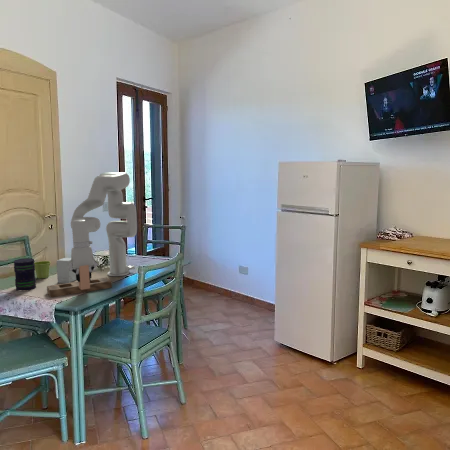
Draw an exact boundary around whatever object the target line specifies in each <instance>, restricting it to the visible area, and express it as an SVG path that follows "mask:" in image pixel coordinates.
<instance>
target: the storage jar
mask: <svg viewBox="0 0 450 450" xmlns="http://www.w3.org/2000/svg"><path fill="white" fill-rule="evenodd" d="M34 263H35V259H34V258H30V257H28V258H27V257H26V258H19V259H15V260H14V261H13V270H14V271H13V272H14V274H15V275H14V277H15V278H14V281H15V283H14V284H15V290H16V291H17V290H28V291H32V290H35V289H36V288H37V284H36V283H37V279H36V274H35V273H36V270H35V264H34ZM31 289H32V290H31Z"/></svg>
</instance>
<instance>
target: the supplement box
mask: <svg viewBox="0 0 450 450" xmlns="http://www.w3.org/2000/svg"><path fill="white" fill-rule="evenodd" d="M70 264H71V257H63V258H60V259H57V260H56V274H57V275H56V276H57V283H58V284H64V283H71V282H76V281H77V280H76V274H75V273H74V272H73V271H71V270H69V269H68V267H69V265H70ZM72 268H73V267H72ZM73 269H75V268H73Z"/></svg>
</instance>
